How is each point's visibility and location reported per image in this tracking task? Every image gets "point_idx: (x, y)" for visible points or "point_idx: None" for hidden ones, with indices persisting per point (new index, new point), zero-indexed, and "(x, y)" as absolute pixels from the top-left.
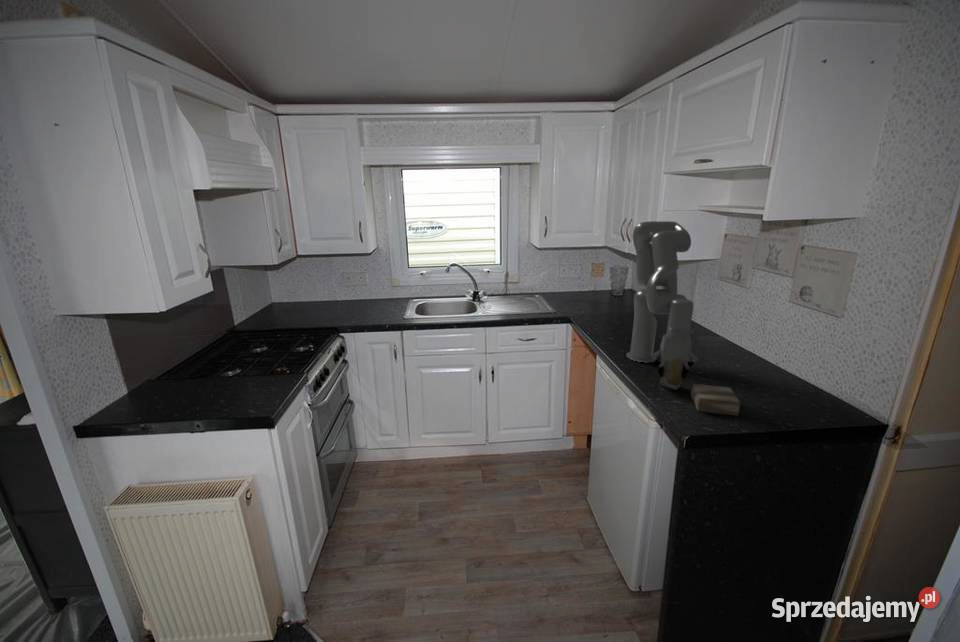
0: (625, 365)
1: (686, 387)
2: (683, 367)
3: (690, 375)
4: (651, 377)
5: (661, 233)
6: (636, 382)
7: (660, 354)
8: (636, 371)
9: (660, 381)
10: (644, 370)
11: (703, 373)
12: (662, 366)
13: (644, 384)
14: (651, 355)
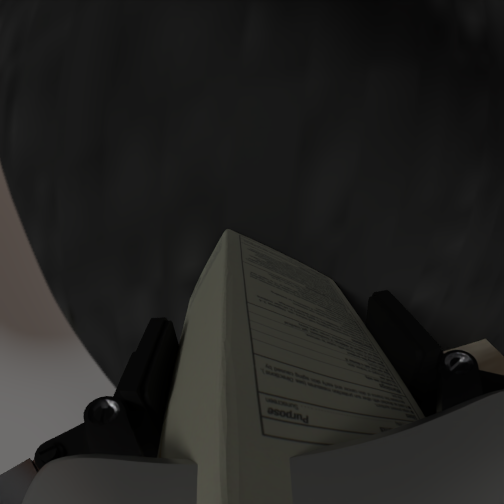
0: (4, 34)
1: (373, 278)
2: (414, 381)
3: (434, 56)
4: (130, 163)
5: None
6: (53, 293)
7: (43, 481)
8: (40, 93)
9: (186, 314)
10: (94, 42)
11: (486, 34)
12: (158, 447)
13: (96, 311)
14: (1, 496)
